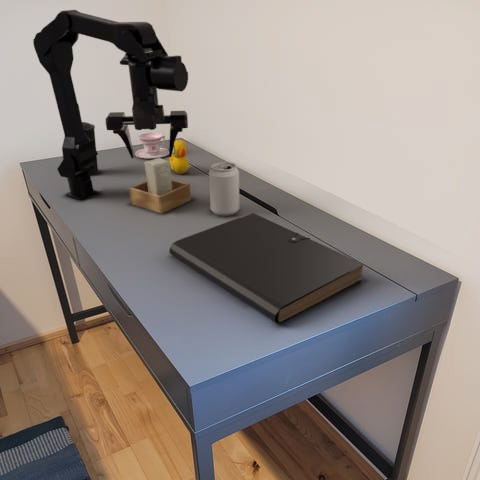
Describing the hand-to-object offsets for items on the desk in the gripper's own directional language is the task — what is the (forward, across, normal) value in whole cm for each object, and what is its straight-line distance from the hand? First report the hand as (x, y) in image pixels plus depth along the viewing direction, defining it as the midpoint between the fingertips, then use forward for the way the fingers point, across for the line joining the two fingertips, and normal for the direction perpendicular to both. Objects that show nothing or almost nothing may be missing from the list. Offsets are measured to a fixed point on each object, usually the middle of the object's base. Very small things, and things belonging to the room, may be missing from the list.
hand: (151, 157), depth 118 cm
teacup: (+14, -4, +50) cm, 52 cm away
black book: (+14, +24, -34) cm, 43 cm away
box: (+14, +1, +6) cm, 15 cm away
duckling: (+14, +6, +29) cm, 33 cm away
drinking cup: (+14, -23, +32) cm, 42 cm away
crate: (+14, +1, +6) cm, 15 cm away
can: (+14, +18, -2) cm, 23 cm away
